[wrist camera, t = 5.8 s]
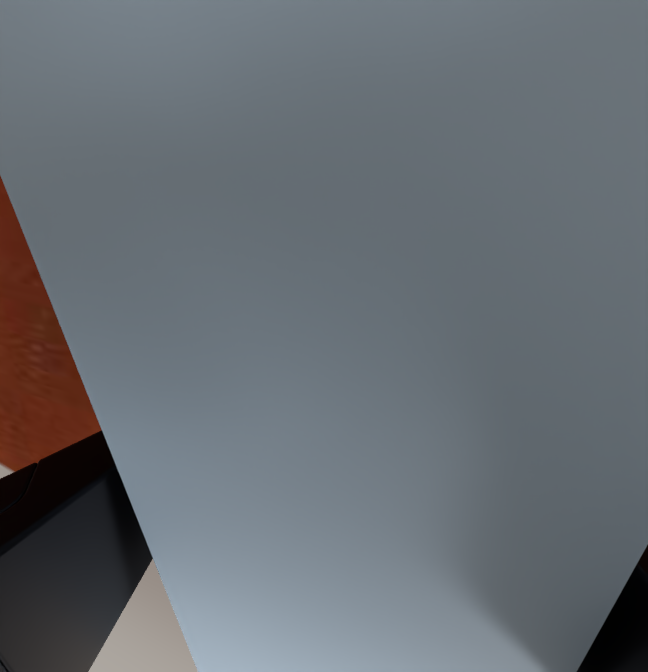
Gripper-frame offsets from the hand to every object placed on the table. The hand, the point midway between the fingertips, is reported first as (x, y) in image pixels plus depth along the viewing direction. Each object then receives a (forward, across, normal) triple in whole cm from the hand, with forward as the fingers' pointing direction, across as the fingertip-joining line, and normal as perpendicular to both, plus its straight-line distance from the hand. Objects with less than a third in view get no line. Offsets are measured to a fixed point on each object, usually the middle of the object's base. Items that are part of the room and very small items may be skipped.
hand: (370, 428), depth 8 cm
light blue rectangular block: (+1, 0, 0) cm, 1 cm away
